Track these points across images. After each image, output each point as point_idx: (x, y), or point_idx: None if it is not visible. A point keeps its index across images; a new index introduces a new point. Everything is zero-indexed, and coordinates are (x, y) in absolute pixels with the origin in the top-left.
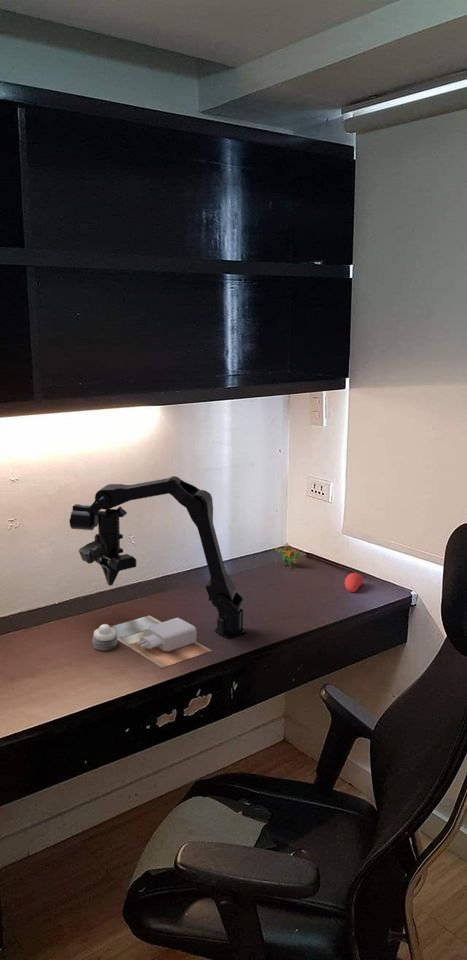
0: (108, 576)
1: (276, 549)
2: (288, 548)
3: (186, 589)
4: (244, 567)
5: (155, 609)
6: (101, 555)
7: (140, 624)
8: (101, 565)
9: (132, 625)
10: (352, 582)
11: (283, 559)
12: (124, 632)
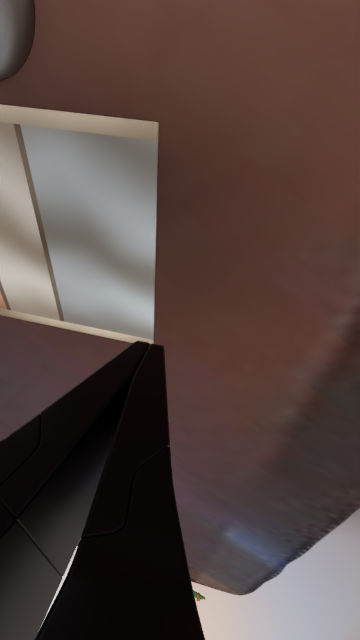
0: (65, 407)
1: (200, 597)
2: None
3: (231, 483)
4: (228, 555)
5: (183, 384)
6: None
7: (103, 282)
8: (79, 630)
9: (111, 257)
10: None
11: None
12: (65, 186)
